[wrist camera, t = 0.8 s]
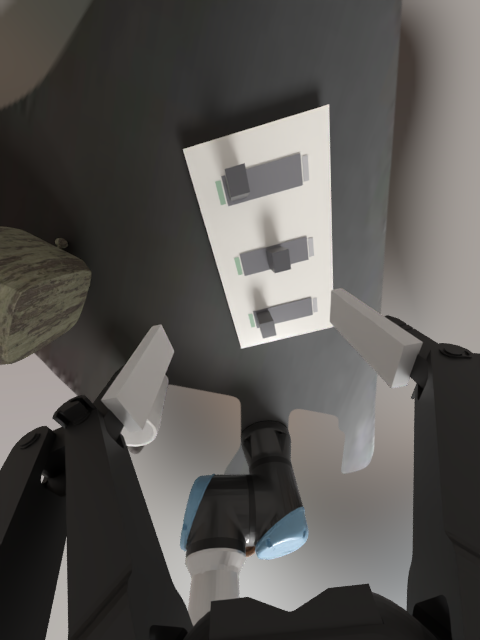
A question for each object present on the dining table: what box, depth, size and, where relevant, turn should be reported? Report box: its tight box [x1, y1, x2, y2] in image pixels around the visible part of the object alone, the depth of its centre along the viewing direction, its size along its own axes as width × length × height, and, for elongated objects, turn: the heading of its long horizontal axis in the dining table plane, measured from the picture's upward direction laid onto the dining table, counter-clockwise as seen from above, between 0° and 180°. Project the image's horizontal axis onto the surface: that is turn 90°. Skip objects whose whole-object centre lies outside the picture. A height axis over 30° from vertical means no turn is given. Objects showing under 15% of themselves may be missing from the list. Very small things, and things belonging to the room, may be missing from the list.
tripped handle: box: [266, 246, 291, 273], centre depth 30 cm, size 3×2×4 cm
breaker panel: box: [183, 105, 334, 349], centre depth 33 cm, size 34×20×3 cm, turn 14°
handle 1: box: [225, 163, 250, 202], centre depth 25 cm, size 3×2×4 cm
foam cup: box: [121, 375, 169, 447], centre depth 40 cm, size 10×9×13 cm
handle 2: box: [256, 311, 276, 338], centre depth 35 cm, size 3×2×4 cm
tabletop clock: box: [0, 226, 91, 365], centre depth 23 cm, size 14×9×25 cm, turn 148°
